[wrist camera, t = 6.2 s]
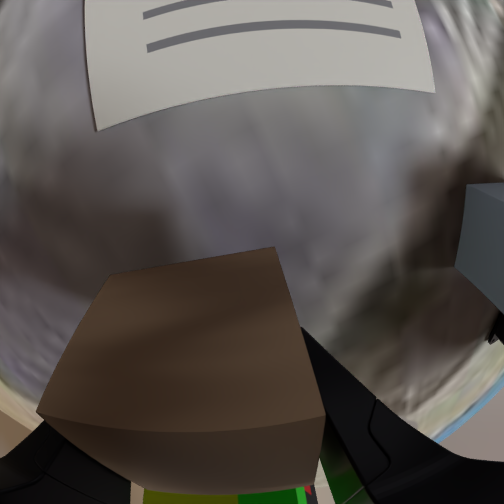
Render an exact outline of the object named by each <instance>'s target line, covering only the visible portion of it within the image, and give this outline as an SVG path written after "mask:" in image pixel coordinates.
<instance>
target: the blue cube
mask: <svg viewBox="0 0 504 504" xmlns="http://www.w3.org/2000/svg"><path fill="white" fill-rule="evenodd" d="M454 267H455V268H456V269H457V270H458V271H459V272H460V273H462V274H463V275H464V276H465V277H466V278H467V279H468V280H469V281H470V282H471V283H473V284H474V285H475V286H476V287H477V288H478V289H479V290H480V291H481V292H482V293H483V294H484V295H485V296H486V297H487V298H488V299H489V300H490V301H491V302H492V303H493V304H494V305H495V306H496V307H497V308H498V309H499V310H500V311H501V312H502V313H503V314H504V183H483V184H466V197H465V206H464V215H463V222H462V229H461V235H460V241H459V246H458V251H457V256H456V261H455V265H454Z"/></svg>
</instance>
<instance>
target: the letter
mask: <svg viewBox="0 0 504 504" xmlns="http://www.w3.org/2000/svg"><path fill="white" fill-rule="evenodd" d="M85 38H86V53H87V64H88V74H89V82H90V90H91V97H92V103H93V109H94V115H95V121H96V126H97V131H101V130H103V129H106V128H109V127H111V126H114V125H117V124H119V123H122V122H125V121H128V120H131V119H134V118H137V117H140V116H143V115H147V114H150V113H153V112H157V111H160V110H164V109H167V108H171V107H175V106H179V105H183V104H187V103H191V102H196V101H200V100H205V99H210V98H215V97H220V96H226V95H231V94H238V93H244V92H251V91H259V90H267V89H277V88H289V87H304V86H371V87H386V88H397V89H406V90H414V91H421V92H428V93H435V86H434V79H433V73H432V67H431V62H430V57H429V52H428V47H427V43H426V39H425V35H424V31H423V27H422V24H421V20H420V17H419V13H418V10H417V7H416V4H415V1H414V0H85Z"/></svg>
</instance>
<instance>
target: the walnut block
mask: <svg viewBox="0 0 504 504" xmlns="http://www.w3.org/2000/svg"><path fill="white" fill-rule="evenodd" d="M36 413H37V414H38V415H39V416H41V417H42V418H43V419H44V420H45V421H46V422H47V423H48V424H49V425H51V426H52V427H53V428H54V429H55V430H56V431H58V432H59V433H60V434H61V435H63V436H64V437H65V438H66V439H68V440H69V441H70V442H71V443H73V444H74V445H75V446H77V447H78V448H79V449H81V450H82V451H84V452H85V453H86V454H88V455H89V456H91V457H92V458H94V459H95V460H97V461H98V462H100V463H101V464H103V465H104V466H106V467H108V468H109V469H111V470H112V471H114V472H116V473H117V474H119V475H121V476H123V477H124V478H126V479H128V480H130V481H132V482H134V483H136V484H137V485H139V486H141V487H143V488H145V489H147V490H152V491H160V492H169V493H180V494H197V495H234V494H251V493H263V492H272V491H280V490H287V489H293V488H299V487H304V486H309V485H314V482H315V477H316V472H317V467H318V461H319V456H320V450H321V444H322V438H323V432H324V425H325V418H326V414H325V410H324V407H323V403H322V399H321V396H320V392H319V389H318V385H317V382H316V379H315V375H314V372H313V368H312V365H311V362H310V358H309V355H308V351H307V348H306V345H305V341H304V338H303V335H302V332H301V328H300V325H299V322H298V319H297V315H296V312H295V309H294V306H293V302H292V299H291V296H290V293H289V290H288V287H287V283H286V280H285V277H284V274H283V271H282V268H281V265H280V262H279V259H278V255H277V252H276V249H275V247H269V248H263V249H257V250H251V251H246V252H240V253H234V254H228V255H222V256H216V257H211V258H205V259H199V260H193V261H187V262H182V263H176V264H170V265H164V266H158V267H153V268H147V269H141V270H135V271H130V272H124V273H118V274H112V275H110V276H109V277H108V279H107V280H106V282H105V283H104V285H103V287H102V288H101V290H100V291H99V293H98V294H97V296H96V297H95V299H94V301H93V302H92V304H91V305H90V307H89V309H88V310H87V312H86V314H85V315H84V317H83V319H82V320H81V322H80V324H79V326H78V327H77V329H76V331H75V333H74V334H73V336H72V338H71V340H70V341H69V343H68V345H67V347H66V349H65V351H64V353H63V355H62V356H61V358H60V360H59V362H58V364H57V366H56V368H55V370H54V372H53V374H52V376H51V378H50V381H49V383H48V385H47V387H46V389H45V391H44V394H43V396H42V398H41V400H40V403H39V405H38V407H37V410H36Z"/></svg>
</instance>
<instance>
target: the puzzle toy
mask: <svg viewBox="0 0 504 504" xmlns="http://www.w3.org/2000/svg"><path fill="white" fill-rule="evenodd" d="M143 504H318V501H317V496H316V491H315V487H314V485H309V486H304V487H299V488H293V489H287V490H280V491H272V492H263V493H251V494H234V495H197V494H180V493H169V492H160V491H152V490H147V489H145V488H144V495H143Z"/></svg>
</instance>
